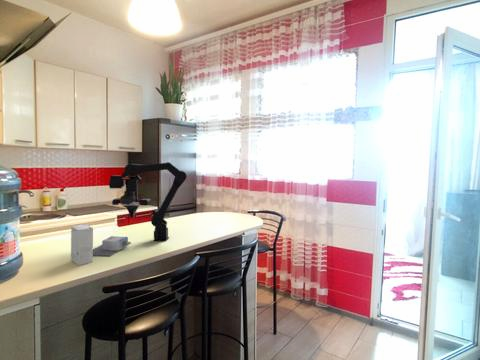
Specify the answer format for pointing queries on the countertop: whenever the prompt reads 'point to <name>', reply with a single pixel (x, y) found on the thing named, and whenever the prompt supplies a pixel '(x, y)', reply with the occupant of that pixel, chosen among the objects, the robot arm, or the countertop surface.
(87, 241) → the skincare box
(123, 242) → the medicine box
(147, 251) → the countertop surface
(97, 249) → the mat
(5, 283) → the countertop surface
